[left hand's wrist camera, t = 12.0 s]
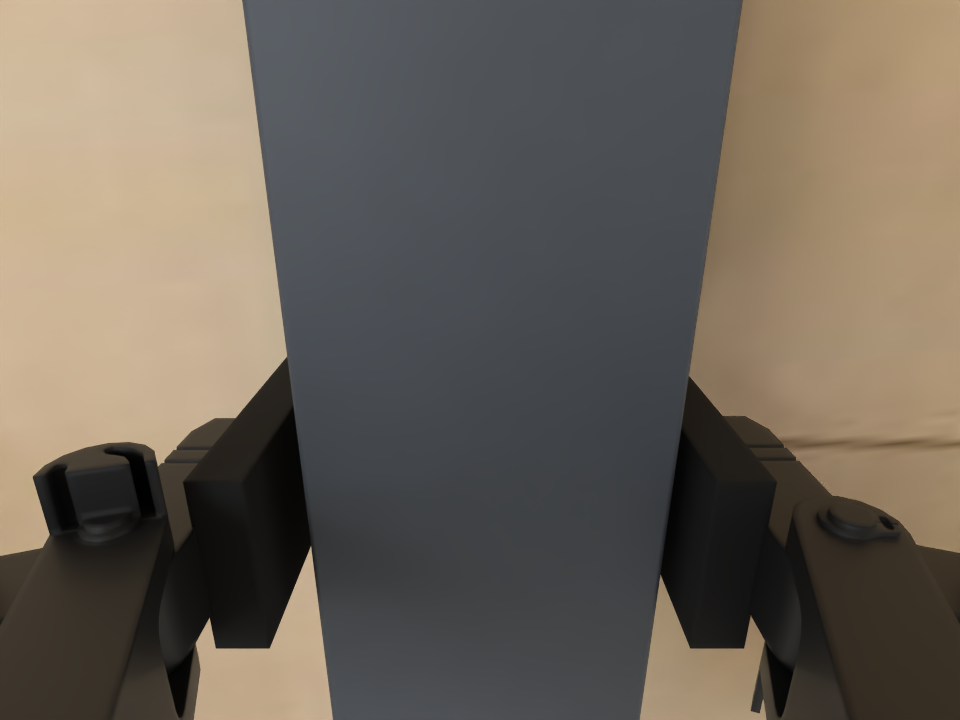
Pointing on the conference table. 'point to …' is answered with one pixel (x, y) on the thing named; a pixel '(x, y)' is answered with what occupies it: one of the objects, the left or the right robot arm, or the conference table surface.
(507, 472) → the bar
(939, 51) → the conference table surface
